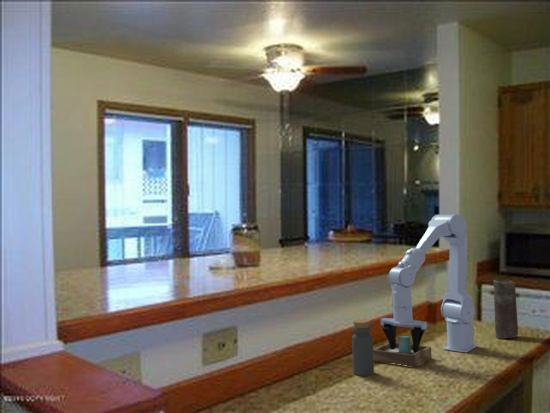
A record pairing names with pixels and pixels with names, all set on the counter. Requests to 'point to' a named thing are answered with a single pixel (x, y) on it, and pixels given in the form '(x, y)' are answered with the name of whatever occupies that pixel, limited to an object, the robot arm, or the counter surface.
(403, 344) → the peg
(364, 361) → the bottle
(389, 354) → the box
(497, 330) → the candle
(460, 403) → the counter surface
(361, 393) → the counter surface
